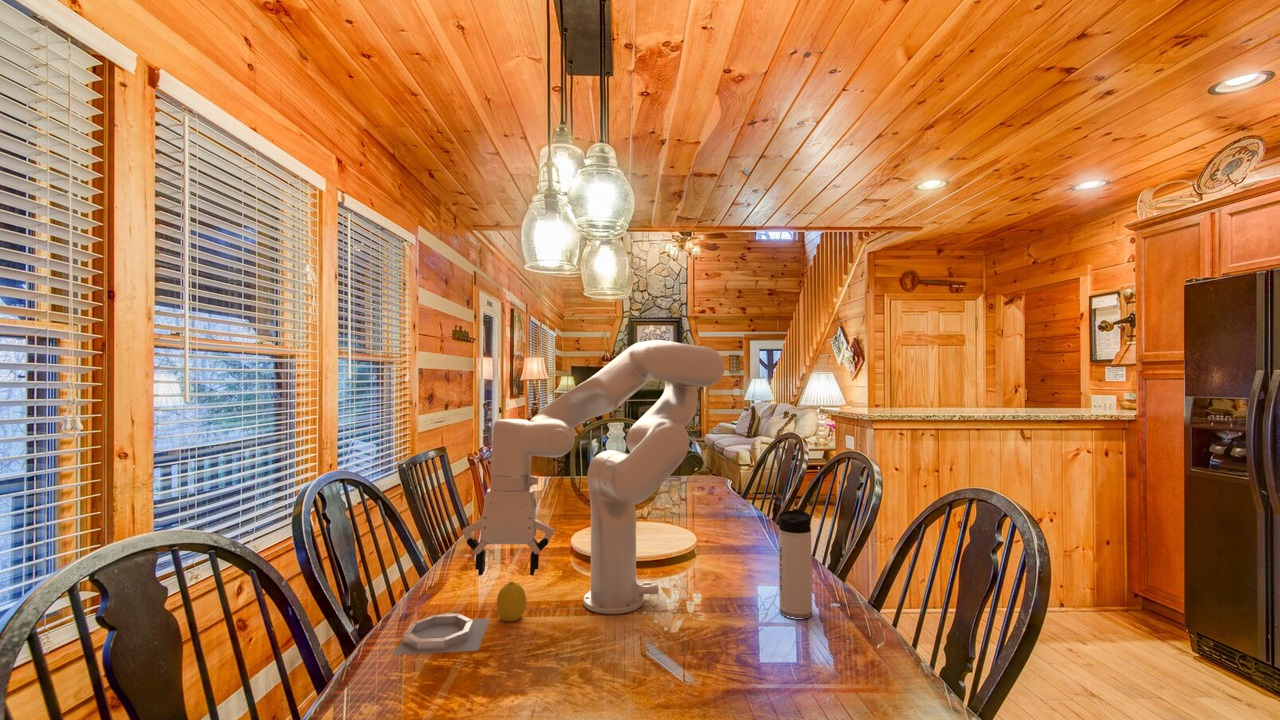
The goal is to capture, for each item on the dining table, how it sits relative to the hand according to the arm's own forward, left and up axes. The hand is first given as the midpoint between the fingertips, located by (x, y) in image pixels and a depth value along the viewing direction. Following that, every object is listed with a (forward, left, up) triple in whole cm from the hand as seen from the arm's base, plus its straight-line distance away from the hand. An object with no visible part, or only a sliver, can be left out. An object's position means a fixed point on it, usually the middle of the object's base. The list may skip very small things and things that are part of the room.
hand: (507, 573), depth 108 cm
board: (+10, +6, -10) cm, 15 cm away
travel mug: (-57, +1, -10) cm, 58 cm away
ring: (+11, +6, -9) cm, 15 cm away
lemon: (-1, 0, -10) cm, 10 cm away
